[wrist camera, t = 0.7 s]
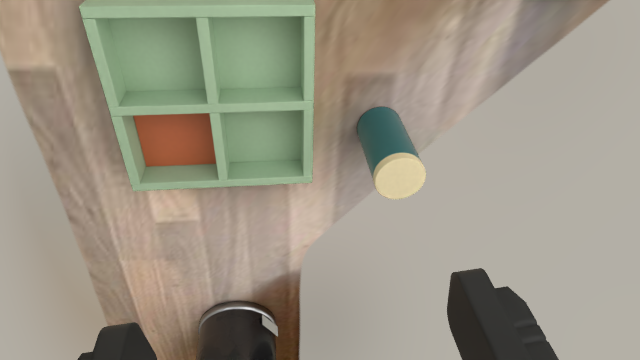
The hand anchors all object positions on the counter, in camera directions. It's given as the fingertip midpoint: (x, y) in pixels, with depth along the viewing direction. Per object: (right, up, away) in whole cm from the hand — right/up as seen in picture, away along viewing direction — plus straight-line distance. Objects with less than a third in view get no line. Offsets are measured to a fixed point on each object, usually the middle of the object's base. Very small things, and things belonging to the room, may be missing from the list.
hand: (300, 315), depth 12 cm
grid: (-8, +11, +25) cm, 29 cm away
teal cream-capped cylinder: (+6, +8, +29) cm, 31 cm away
